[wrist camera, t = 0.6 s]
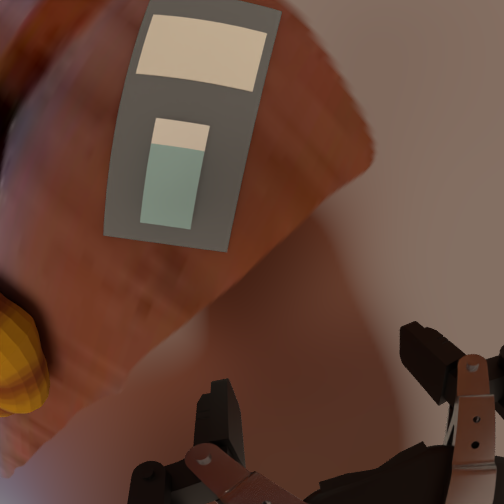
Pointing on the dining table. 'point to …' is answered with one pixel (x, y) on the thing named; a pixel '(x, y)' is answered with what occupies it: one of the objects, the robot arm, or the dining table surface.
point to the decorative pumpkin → (20, 362)
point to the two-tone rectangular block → (173, 173)
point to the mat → (190, 110)
